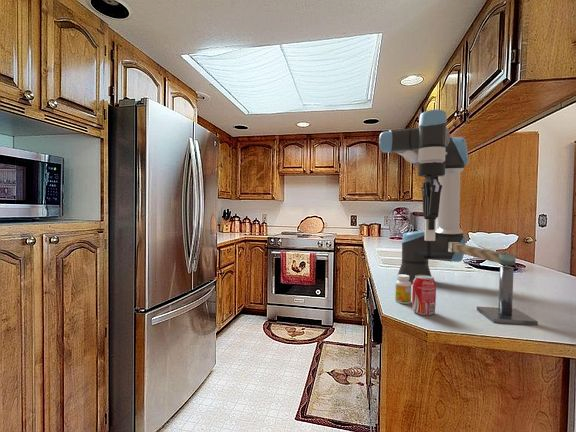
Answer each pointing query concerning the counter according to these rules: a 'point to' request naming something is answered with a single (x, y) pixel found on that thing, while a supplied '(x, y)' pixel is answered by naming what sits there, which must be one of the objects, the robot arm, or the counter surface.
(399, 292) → the supplement bottle
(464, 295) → the counter surface
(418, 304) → the soda can
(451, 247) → the swing arm
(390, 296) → the counter surface
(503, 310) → the post
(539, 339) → the counter surface
